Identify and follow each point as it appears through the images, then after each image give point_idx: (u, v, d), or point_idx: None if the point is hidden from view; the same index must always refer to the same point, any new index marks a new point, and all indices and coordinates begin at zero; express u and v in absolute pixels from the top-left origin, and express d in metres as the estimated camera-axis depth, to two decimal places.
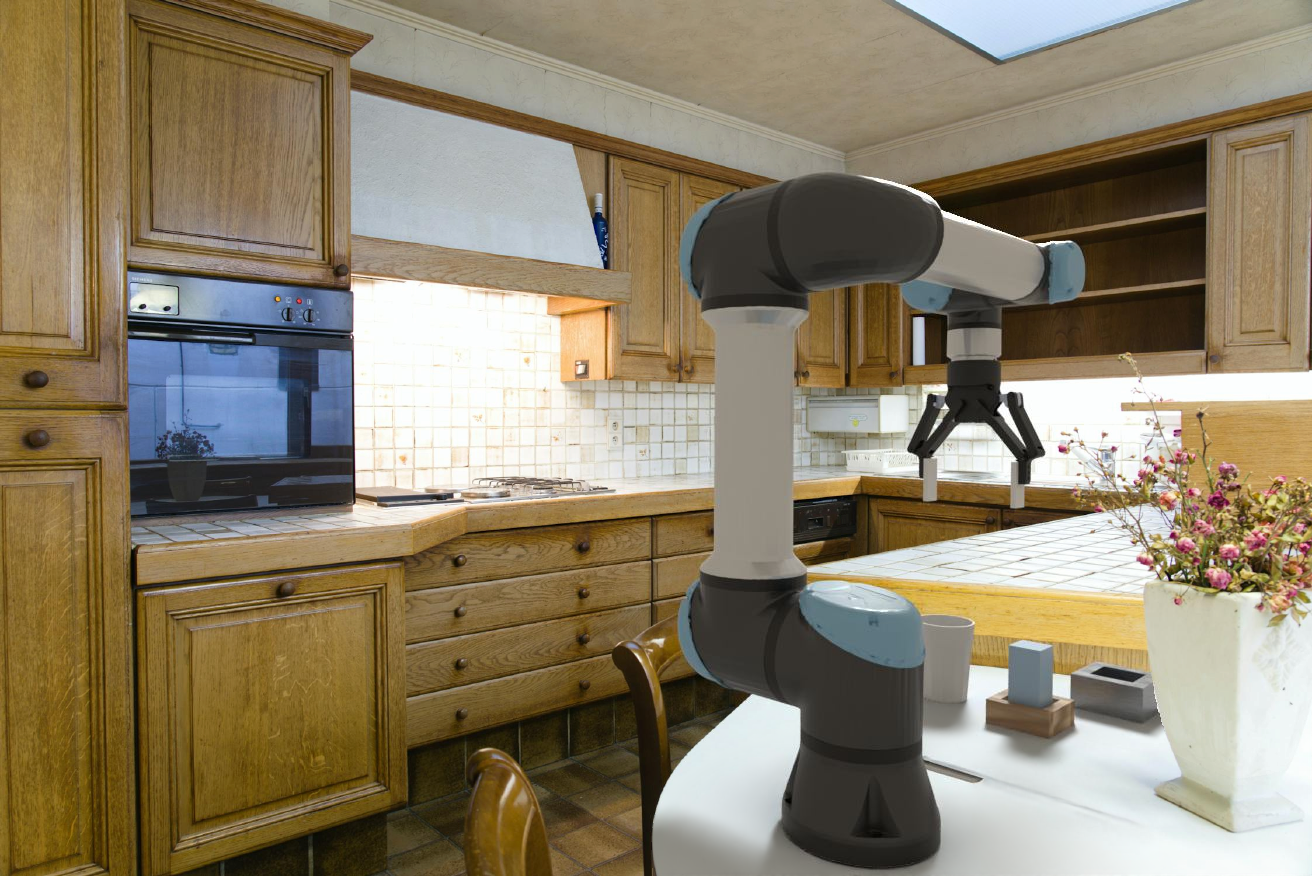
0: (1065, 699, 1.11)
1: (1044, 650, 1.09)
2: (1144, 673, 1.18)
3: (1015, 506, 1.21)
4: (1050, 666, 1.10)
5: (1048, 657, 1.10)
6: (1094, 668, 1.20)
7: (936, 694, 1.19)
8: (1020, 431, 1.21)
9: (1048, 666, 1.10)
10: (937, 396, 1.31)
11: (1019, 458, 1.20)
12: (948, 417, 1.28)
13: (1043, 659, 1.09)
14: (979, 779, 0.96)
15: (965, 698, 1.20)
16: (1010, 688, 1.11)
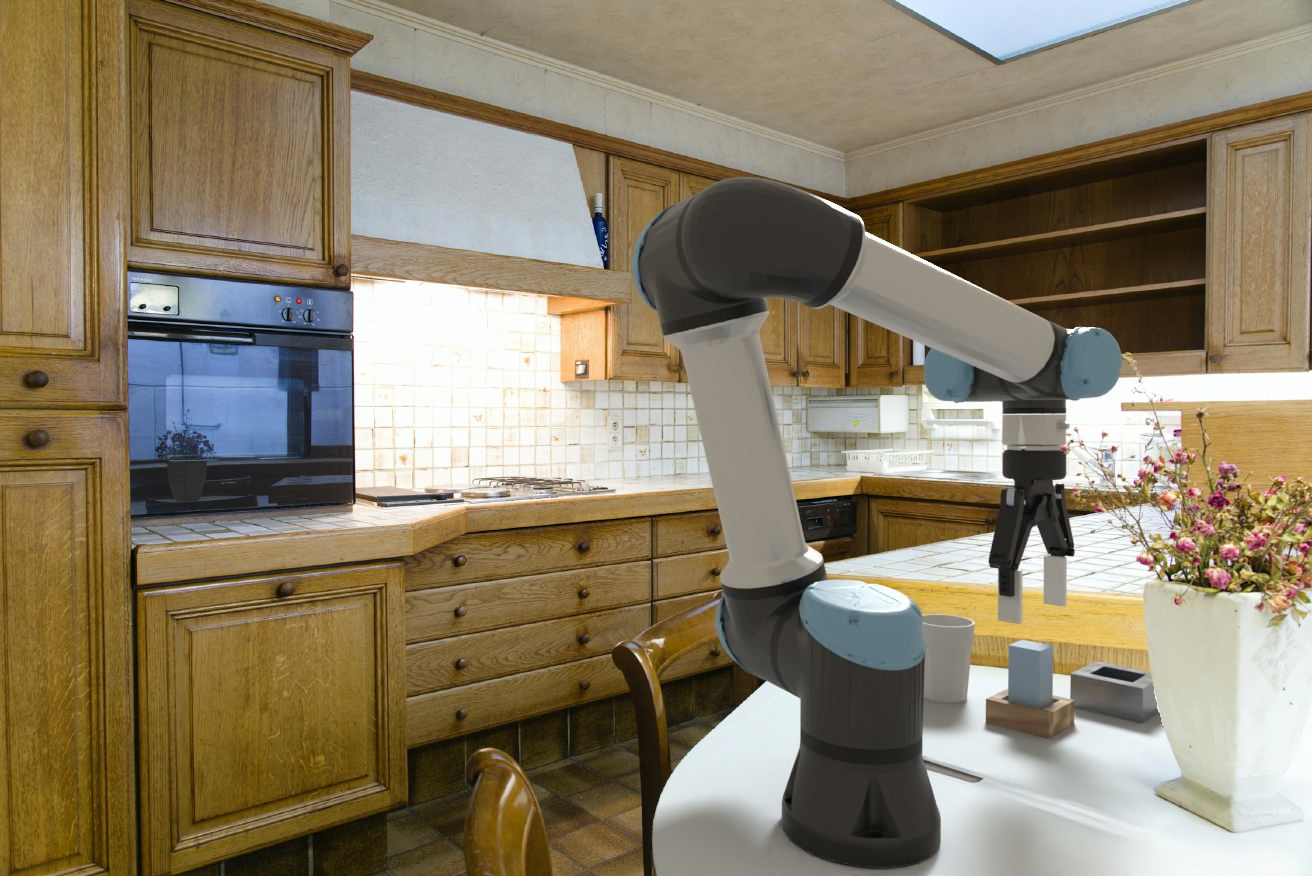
0: (1065, 699, 1.11)
1: (1044, 650, 1.09)
2: (1144, 673, 1.18)
3: (999, 618, 1.07)
4: (1050, 666, 1.10)
5: (1048, 657, 1.10)
6: (1094, 668, 1.20)
7: (936, 694, 1.19)
8: None
9: (1048, 666, 1.10)
10: None
11: None
12: None
13: (1043, 659, 1.09)
14: (979, 779, 0.96)
15: (965, 698, 1.20)
16: (1010, 688, 1.11)
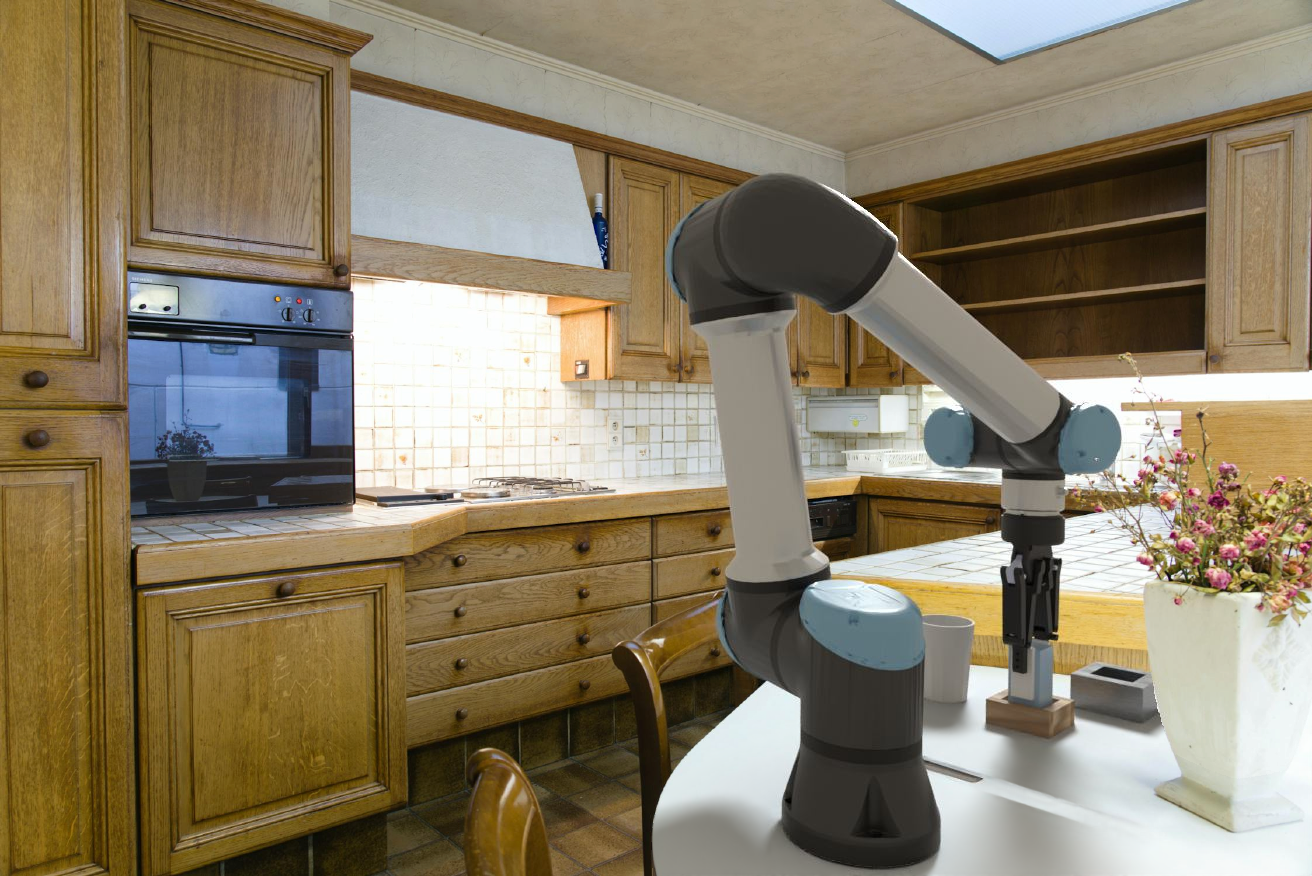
0: (1065, 699, 1.11)
1: (1044, 650, 1.09)
2: (1144, 673, 1.18)
3: (1011, 693, 1.10)
4: (1050, 666, 1.10)
5: (1048, 657, 1.10)
6: (1094, 668, 1.20)
7: (936, 694, 1.19)
8: None
9: (1048, 666, 1.10)
10: None
11: None
12: None
13: (1043, 659, 1.09)
14: (979, 779, 0.96)
15: (965, 698, 1.20)
16: (1010, 688, 1.11)
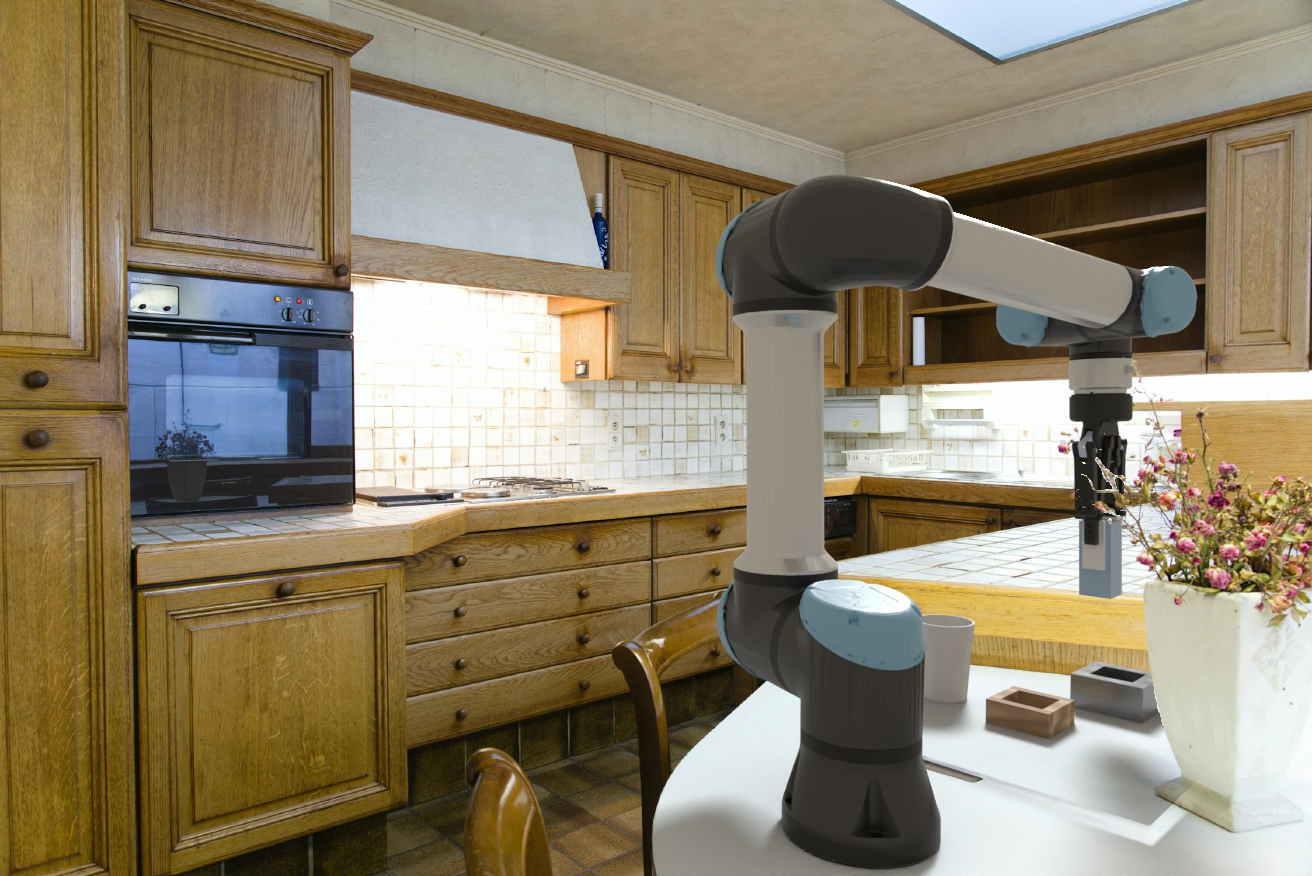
0: (1065, 699, 1.11)
1: (1114, 523, 1.14)
2: (1144, 673, 1.18)
3: (1083, 566, 1.15)
4: (1119, 539, 1.15)
5: (1118, 530, 1.15)
6: (1094, 668, 1.20)
7: (936, 694, 1.19)
8: None
9: (1117, 538, 1.14)
10: None
11: (1075, 515, 1.15)
12: None
13: (1114, 531, 1.13)
14: (978, 778, 0.96)
15: (965, 698, 1.20)
16: (1081, 562, 1.15)
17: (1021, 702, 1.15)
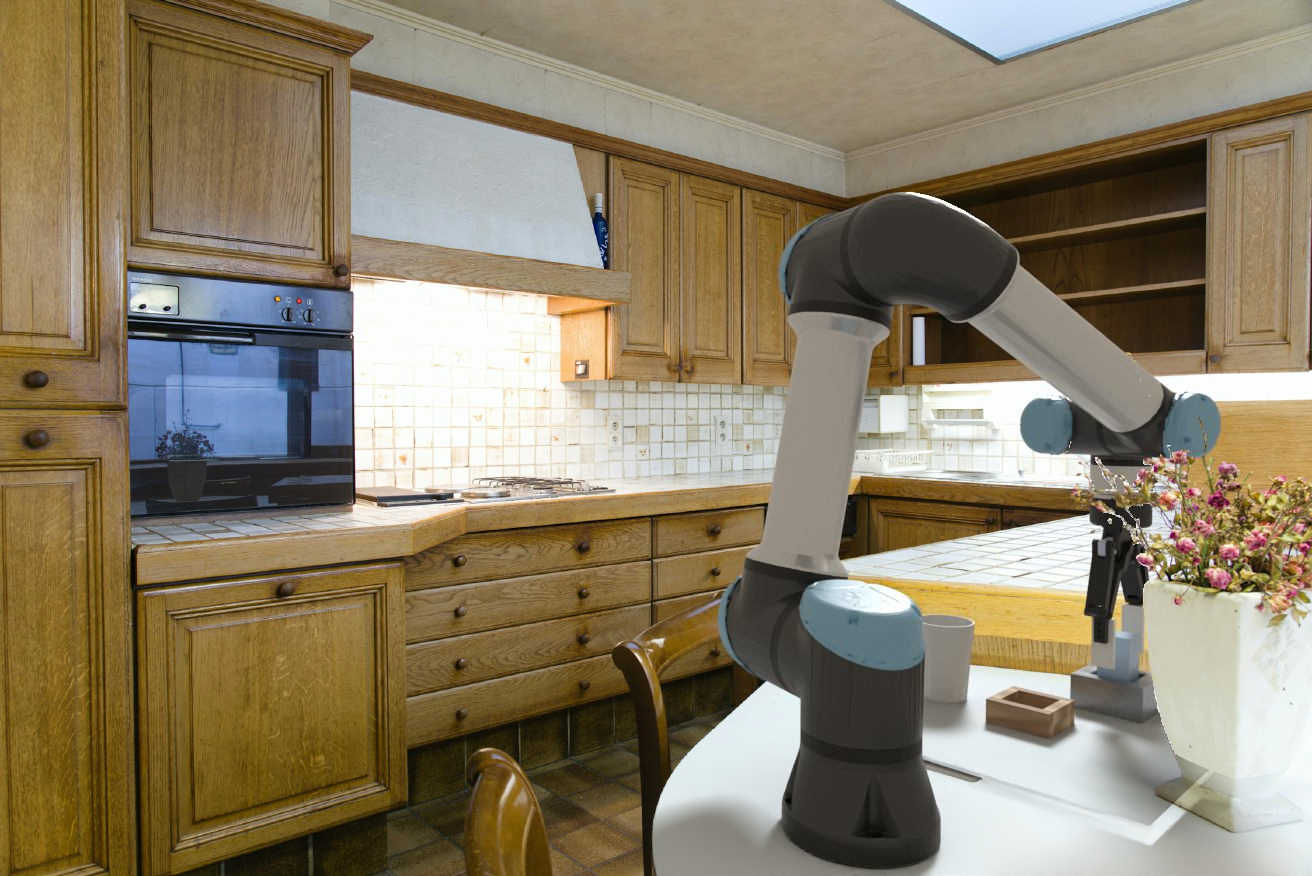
0: (1065, 699, 1.11)
1: (1132, 638, 1.15)
2: (1144, 673, 1.18)
3: (1092, 663, 1.14)
4: (1137, 654, 1.17)
5: (1136, 645, 1.16)
6: (1094, 668, 1.20)
7: (936, 694, 1.19)
8: None
9: (1135, 653, 1.16)
10: None
11: (1085, 612, 1.14)
12: None
13: (1132, 647, 1.15)
14: (978, 778, 0.96)
15: (965, 698, 1.20)
16: (1099, 674, 1.17)
17: (1021, 702, 1.15)
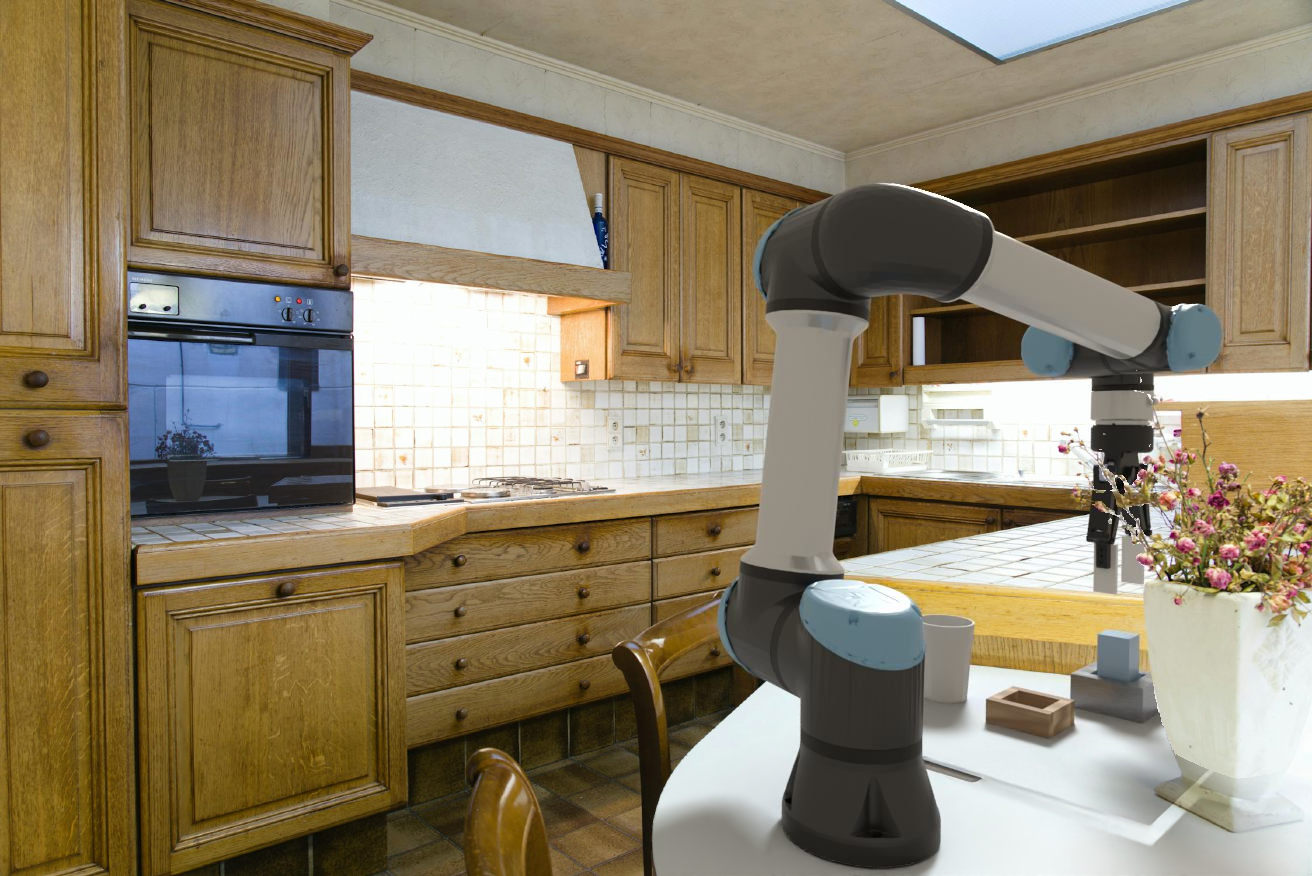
0: (1065, 699, 1.11)
1: (1132, 638, 1.15)
2: (1144, 673, 1.18)
3: (1094, 589, 1.14)
4: (1137, 654, 1.17)
5: (1136, 645, 1.16)
6: (1094, 668, 1.20)
7: (936, 694, 1.19)
8: None
9: (1135, 653, 1.16)
10: None
11: (1087, 538, 1.14)
12: None
13: (1132, 647, 1.15)
14: (977, 778, 0.96)
15: (965, 698, 1.20)
16: (1099, 674, 1.17)
17: (1021, 702, 1.15)
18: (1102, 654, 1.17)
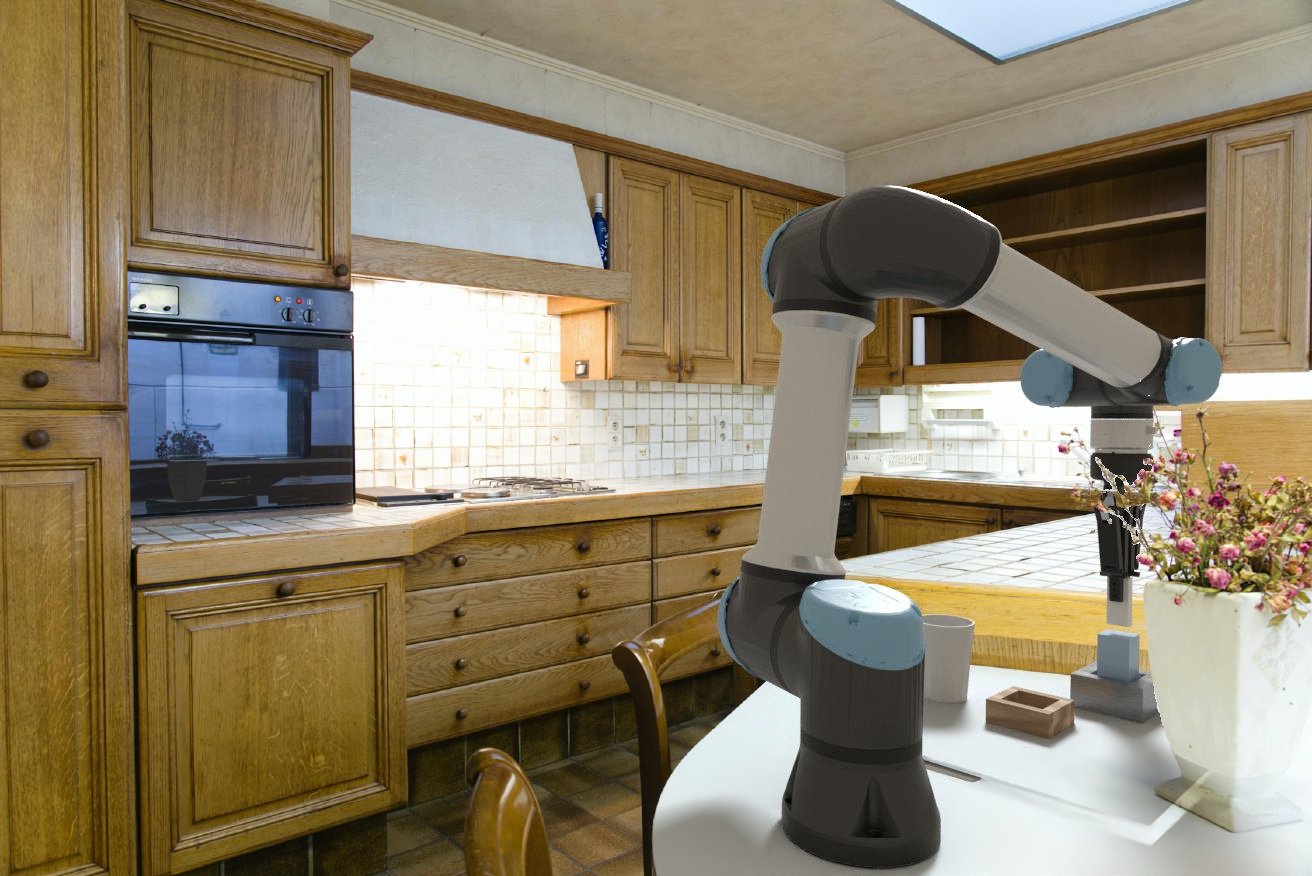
0: (1065, 699, 1.11)
1: (1132, 638, 1.15)
2: (1144, 673, 1.18)
3: (1107, 621, 1.18)
4: (1137, 654, 1.17)
5: (1136, 645, 1.16)
6: (1094, 668, 1.20)
7: (936, 694, 1.19)
8: None
9: (1135, 653, 1.16)
10: None
11: (1101, 572, 1.18)
12: None
13: (1132, 647, 1.15)
14: (977, 778, 0.96)
15: (965, 698, 1.20)
16: (1099, 674, 1.17)
17: (1021, 702, 1.15)
18: (1102, 654, 1.17)
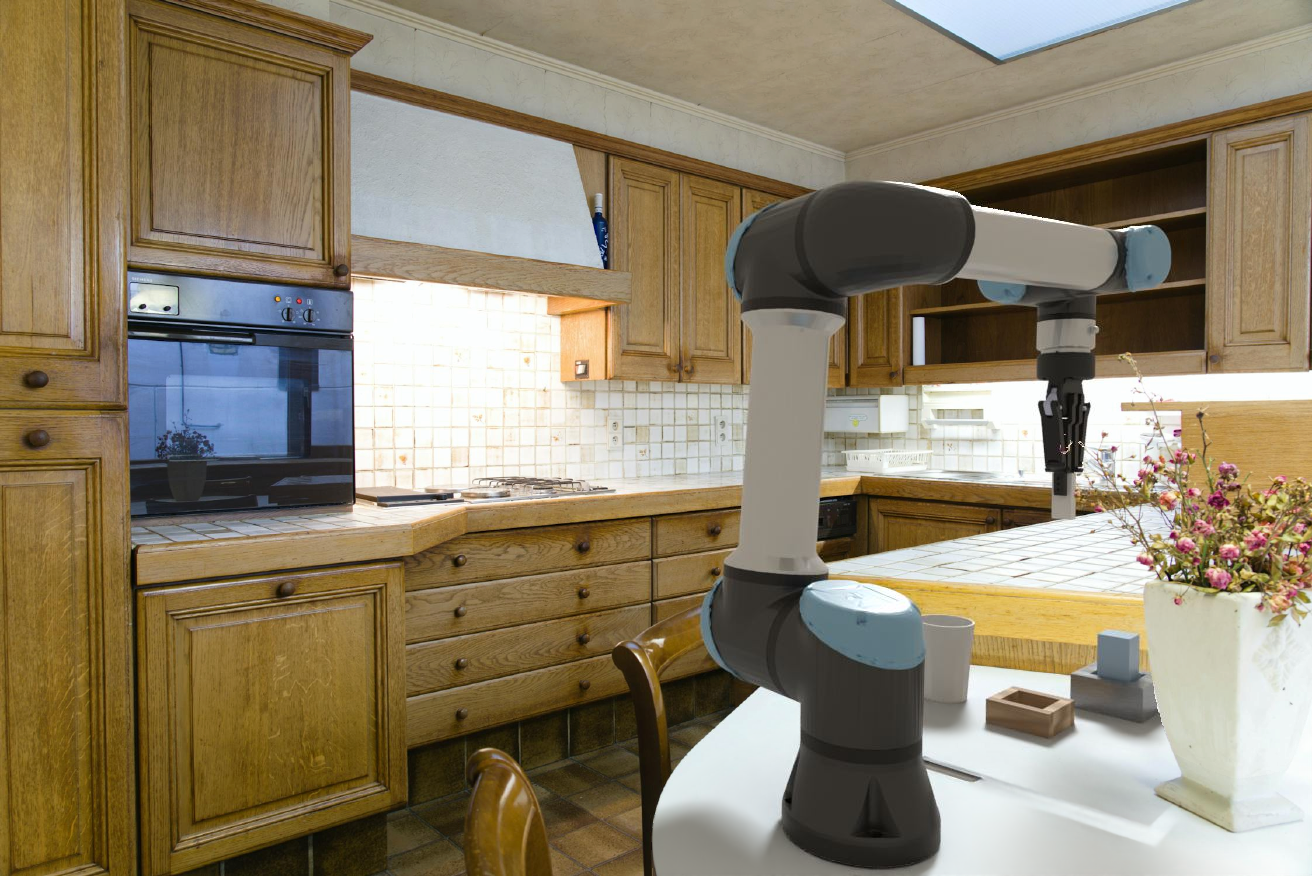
0: (1065, 699, 1.11)
1: (1132, 638, 1.15)
2: (1144, 673, 1.18)
3: (1052, 516, 1.23)
4: (1137, 654, 1.17)
5: (1136, 645, 1.16)
6: (1094, 668, 1.20)
7: (936, 694, 1.19)
8: None
9: (1135, 653, 1.16)
10: None
11: None
12: None
13: (1132, 647, 1.15)
14: (977, 778, 0.96)
15: (965, 698, 1.20)
16: (1099, 674, 1.17)
17: (1021, 702, 1.15)
18: (1102, 654, 1.17)
